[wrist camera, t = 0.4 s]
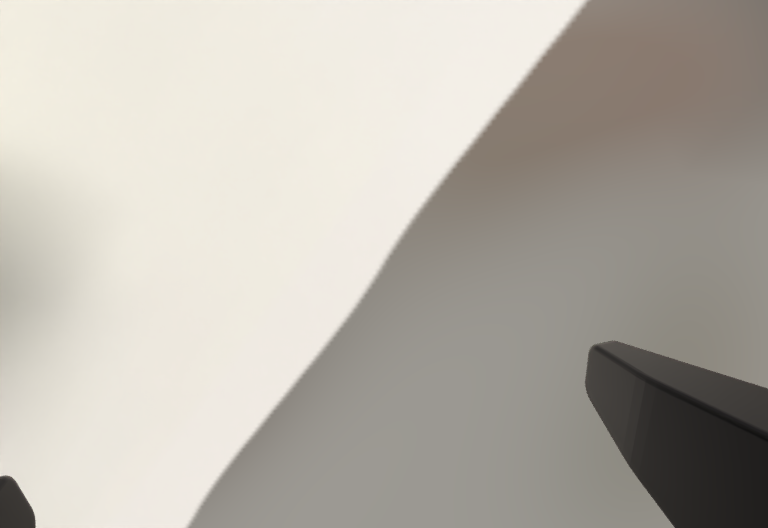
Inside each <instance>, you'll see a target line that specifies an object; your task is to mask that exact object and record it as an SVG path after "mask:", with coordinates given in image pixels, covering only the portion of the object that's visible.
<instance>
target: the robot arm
mask: <svg viewBox="0 0 768 528" xmlns="http://www.w3.org/2000/svg"><path fill="white" fill-rule="evenodd" d="M585 386H586V391H587V394H588V397H589V398H590V401H591V402H592V404H593V406H594V407H595V409H596V411H597V412H598V414H599V416H600V418H601V419H602V421H603V423H604V425H605V426H606V428H607V430H608V431H609V433H610V435H611V437H612V438H613V440H614V441H615V443H616V445H617V447H618V449H619V450H620V452H621V453H622V455H623V457H624V458H625V460H626V461H627V463H628V465H629V467H630V468H631V469H632V471H633V472H634V473H635V475H636V476H637V478H638V479H639V480H640V482H641V483H642V485H643V486H644V487H645V488H646V489H647V491H648V493H649V494H650V495H651V497H652V498H653V499H654V500H655V502H656V503H657V505H658V506H659V507H660V509H661V510H662V511H663V512H664V514H665V515H666V517H667V518H668V519H669V521H670V522H671V523H672V525H673V526H674V527H675V528H768V389H767V388H764V387H761V386H758V385H755V384H752V383H748V382H745V381H742V380H739V379H735V378H732V377H729V376H726V375H723V374H720V373H716V372H713V371H710V370H707V369H704V368H700V367H697V366H694V365H690V364H688V363H685V362H681V361H678V360H675V359H672V358H669V357H665V356H662V355H659V354H655V353H653V352H649V351H646V350H643V349H640V348H637V347H634V346H630V345H627V344H624V343H620V342H618V341H608V342H603V343H599V344H595V345H593V346H592V347H591V348H590V350H589V354H588V362H587V371H586V379H585ZM0 528H35V515H34V512H33V509H32V507H31V506H30V504H29V503H28V501H27V499H26V498H25V496H24V494H23V493H22V491H21V489H20V488H19V486H18V484H17V483H16V481H15V480H14V479H13V478H12V477H10V476H1V477H0Z"/></svg>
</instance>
